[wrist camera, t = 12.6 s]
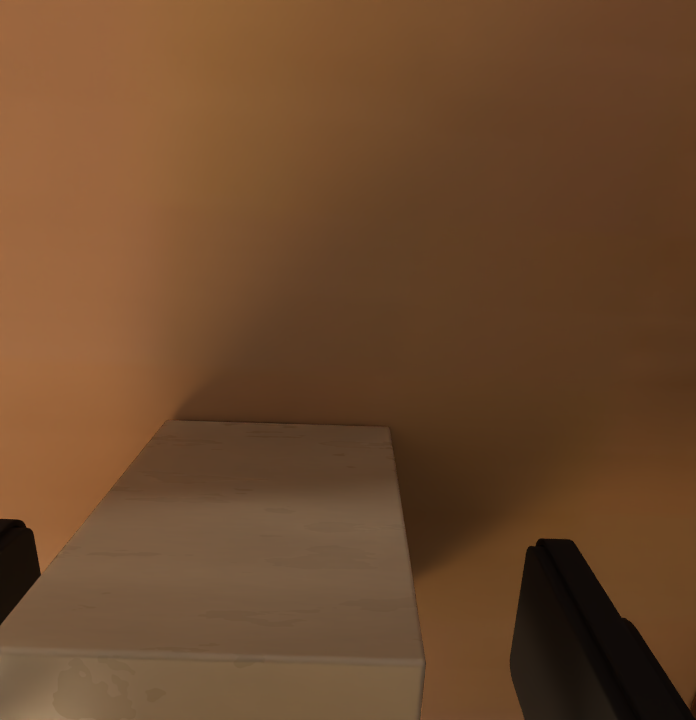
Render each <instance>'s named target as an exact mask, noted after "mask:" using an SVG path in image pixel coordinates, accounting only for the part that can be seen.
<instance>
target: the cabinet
mask: <svg viewBox="0 0 696 720" xmlns="http://www.w3.org/2000/svg"><path fill="white" fill-rule="evenodd" d="M690 712H691V713H692V715H693V716H694V718H695V720H696V695H695V698H694V701H693V704H692V707H691V710H690Z"/></svg>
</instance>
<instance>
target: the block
mask: <svg viewBox="0 0 696 720" xmlns="http://www.w3.org/2000/svg"><path fill="white" fill-rule="evenodd" d="M425 667H426V660H425V654H424V647H423V641H422V634H421V628H420V621H419V615H418V608H417V602H416V595H415V589H414V582H413V576H412V569H411V563H410V556H409V550H408V543H407V536H406V530H405V523H404V517H403V510H402V504H401V497H400V491H399V484H398V478H397V471H396V465H395V458H394V452H393V445H392V439H391V432H390V428H389V427H381V426H347V425H314V424H280V423H247V422H214V421H180V420H167V421H165V423H164V424H163V425H162V426H161V428H160V429H159V430H158V431H157V433H156V434H155V435H154V436H153V437H152V439H151V440H150V441H149V442H148V444H147V445H146V446H145V447H144V449H143V450H142V451H141V452H140V454H139V455H138V456H137V457H136V458H135V460H134V461H133V462H132V463H131V465H130V466H129V467H128V468H127V470H126V471H125V472H124V473H123V475H122V476H121V477H120V478H119V479H118V481H117V482H116V483H115V484H114V486H113V487H112V488H111V489H110V491H109V492H108V493H107V494H106V496H105V497H104V498H103V499H102V500H101V502H100V503H99V504H98V505H97V507H96V508H95V509H94V510H93V512H92V513H91V514H90V515H89V516H88V518H87V519H86V520H85V521H84V523H83V524H82V525H81V526H80V528H79V529H78V530H77V531H76V533H75V534H74V535H73V536H72V537H71V539H70V540H69V541H68V542H67V544H66V545H65V546H64V547H63V549H62V550H61V551H60V552H59V554H58V555H57V556H56V557H55V558H54V560H53V561H52V562H51V563H50V565H49V566H48V567H47V568H46V570H45V571H44V572H43V573H42V574H41V576H40V577H39V578H38V579H37V581H36V582H35V583H34V584H33V586H32V587H31V588H30V589H29V591H28V592H27V593H26V594H25V595H24V597H23V598H22V599H21V600H20V602H19V603H18V604H17V605H16V607H15V608H14V609H13V610H12V612H11V613H10V614H9V615H8V616H7V618H6V619H5V620H4V621H3V623H2V624H1V625H0V720H420V718H421V707H422V697H423V687H424V677H425Z"/></svg>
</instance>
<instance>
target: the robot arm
mask: <svg viewBox="0 0 696 720" xmlns="http://www.w3.org/2000/svg"><path fill="white" fill-rule="evenodd" d="M40 576H41V573H40V567H39V562H38V556H37V551H36V545H35V539H34V534H33V531H32V530H31V529H29V528H26V526H25V524H24V522H23V521H21V520H17V519H0V625H1V624H2V623H3V621H4V620H5V619H6V618H7V616H8V615H9V614H10V613H11V612H12V610H13V609H14V608H15V607H16V605H17V604H18V603H19V602H20V600H21V599H22V598H23V597H24V595H25V594H26V593H27V592H28V591H29V589H30V588H31V587H32V586H33V584H34V583H35V582H36V581H37V579H38V578H39V577H40ZM510 671H511V677H512V681H513V684H514V687H515V690H516V694H517V697H518V700H519V703H520V706H521V709H522V712H523V715H524V719H525V720H695V718H694V716H693V715H692V713H691V712H690V710H689V709H688V707H687V706H686V704H685V703H684V701H683V699H682V698H681V696H680V695H679V693H678V692H677V690H676V689H675V687H674V686H673V684H672V682H671V681H670V679H669V678H668V676H667V675H666V673H665V672H664V670H663V669H662V667H661V666H660V664H659V662H658V661H657V659H656V658H655V656H654V655H653V653H652V652H651V650H650V649H649V647H648V645H647V644H646V642H645V641H644V639H643V638H642V636H641V635H640V633H639V632H638V630H637V629H636V627H635V626H634V625H633V624H632V623H631V622H630V621H629V620H627V619H626V618H621V616H620V615H619V613H618V612H617V610H616V608H615V607H614V605H613V604H612V602H611V600H610V599H609V597H608V596H607V594H606V592H605V591H604V589H603V588H602V586H601V585H600V583H599V581H598V580H597V578H596V577H595V575H594V573H593V572H592V570H591V569H590V567H589V565H588V564H587V562H586V561H585V559H584V557H583V556H582V554H581V553H580V551H579V549H578V548H577V546H576V545H575V543H574V542H573V541H572V540H568V539H539V540H538V541H537V543H536V546H530V547H528V549H527V552H526V558H525V564H524V571H523V577H522V583H521V590H520V596H519V603H518V609H517V615H516V622H515V628H514V635H513V641H512V648H511V654H510Z"/></svg>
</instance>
